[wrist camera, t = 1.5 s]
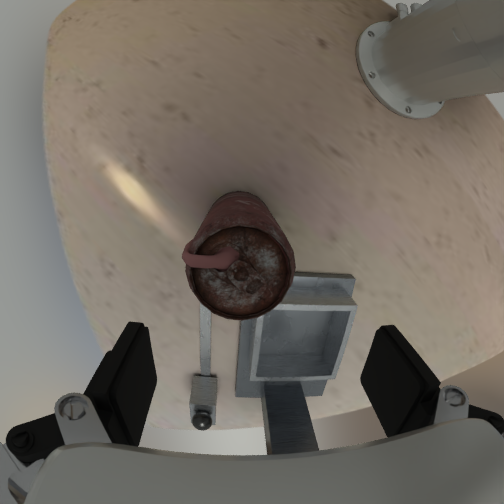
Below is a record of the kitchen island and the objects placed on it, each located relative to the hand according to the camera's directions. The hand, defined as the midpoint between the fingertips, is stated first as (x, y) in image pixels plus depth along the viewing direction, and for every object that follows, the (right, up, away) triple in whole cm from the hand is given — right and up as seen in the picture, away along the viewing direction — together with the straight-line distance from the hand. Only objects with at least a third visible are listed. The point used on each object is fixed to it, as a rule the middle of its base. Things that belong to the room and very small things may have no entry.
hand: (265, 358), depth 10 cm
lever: (-7, -13, +24) cm, 28 cm away
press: (+2, -7, +22) cm, 23 cm away
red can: (-2, +7, +17) cm, 19 cm away
